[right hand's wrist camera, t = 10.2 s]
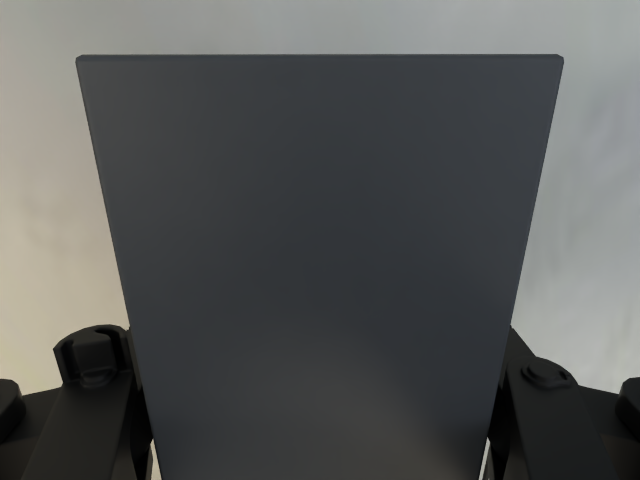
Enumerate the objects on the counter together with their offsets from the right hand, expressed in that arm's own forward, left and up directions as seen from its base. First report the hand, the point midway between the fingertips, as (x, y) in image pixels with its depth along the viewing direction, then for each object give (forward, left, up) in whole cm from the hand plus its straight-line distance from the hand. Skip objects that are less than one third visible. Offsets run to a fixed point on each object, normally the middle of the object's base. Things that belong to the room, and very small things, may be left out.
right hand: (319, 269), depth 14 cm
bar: (+9, -26, -1) cm, 27 cm away
